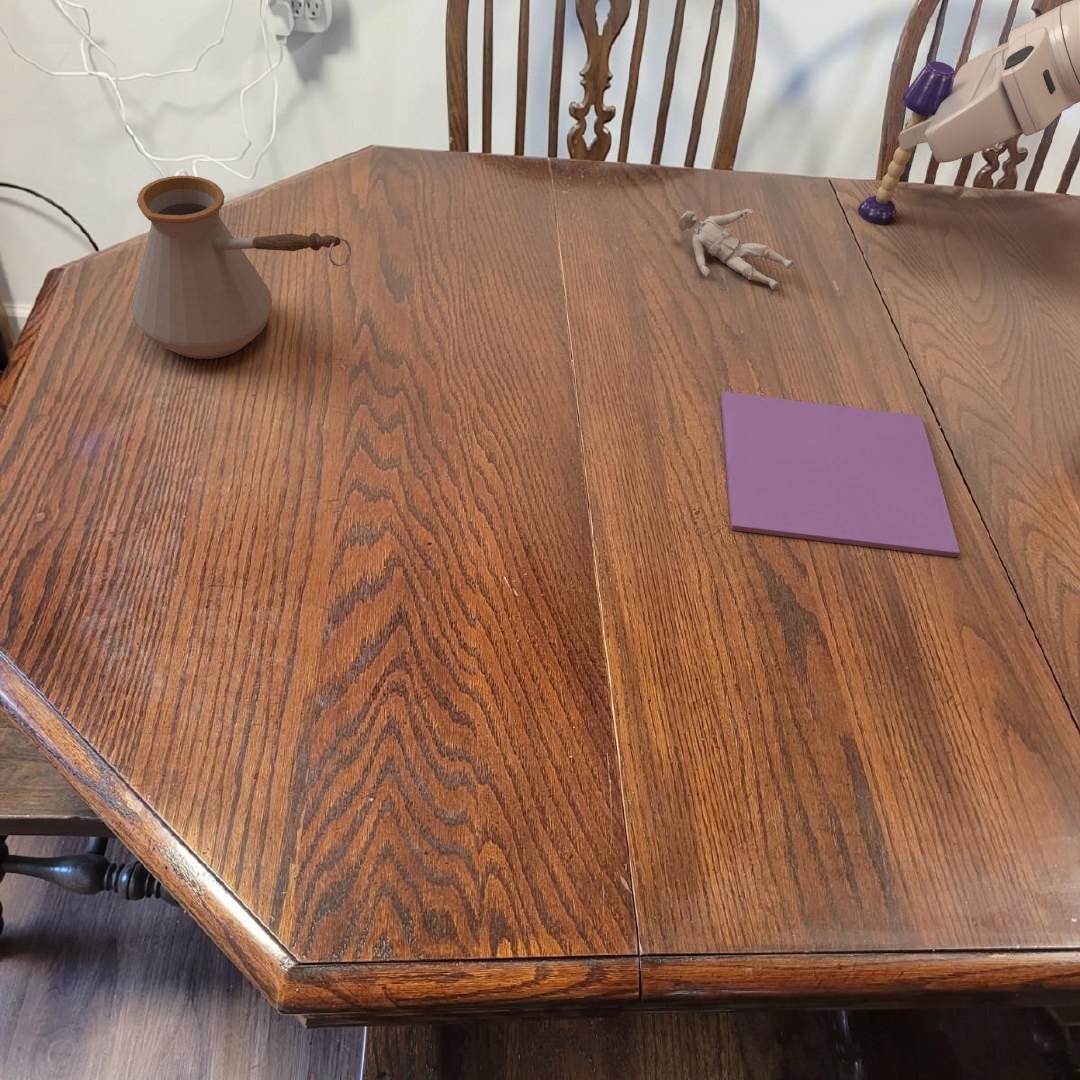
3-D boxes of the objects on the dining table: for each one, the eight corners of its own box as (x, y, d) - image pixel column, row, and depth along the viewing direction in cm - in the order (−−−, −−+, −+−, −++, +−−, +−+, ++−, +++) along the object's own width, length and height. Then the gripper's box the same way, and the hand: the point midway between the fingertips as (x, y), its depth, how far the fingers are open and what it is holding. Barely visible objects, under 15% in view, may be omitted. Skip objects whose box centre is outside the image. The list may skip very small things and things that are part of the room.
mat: (918, 420, 84) (921, 415, 84) (957, 557, 74) (960, 552, 73) (720, 395, 84) (721, 390, 83) (730, 530, 73) (732, 525, 73)
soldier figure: (756, 312, 94) (660, 240, 94) (750, 317, 99) (658, 249, 99) (806, 247, 93) (708, 174, 93) (797, 255, 98) (704, 186, 98)
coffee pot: (109, 340, 80) (58, 175, 69) (203, 277, 87) (171, 118, 76) (311, 439, 75) (292, 278, 64) (394, 364, 82) (390, 207, 71)
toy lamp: (904, 215, 108) (969, 66, 95) (891, 232, 105) (956, 81, 92) (865, 200, 109) (923, 51, 96) (851, 217, 106) (909, 65, 94)
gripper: (1046, 3, 96) (913, 73, 105) (1016, 72, 83) (869, 145, 93) (1067, 61, 98) (936, 124, 108) (1042, 136, 85) (896, 201, 95)
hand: (904, 134), depth 100 cm, fingers closed on toy lamp
